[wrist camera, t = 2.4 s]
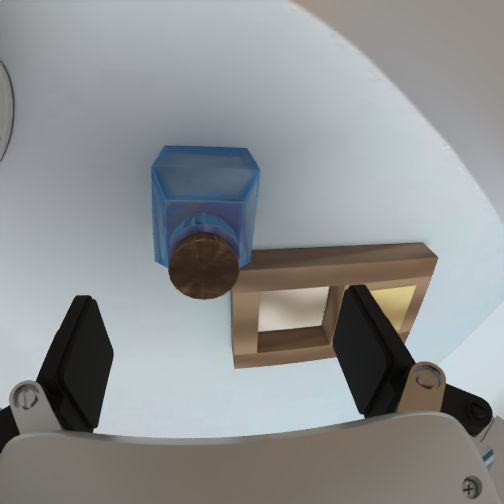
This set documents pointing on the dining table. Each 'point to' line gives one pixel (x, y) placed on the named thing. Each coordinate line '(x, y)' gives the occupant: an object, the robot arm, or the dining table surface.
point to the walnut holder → (320, 297)
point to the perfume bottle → (204, 216)
